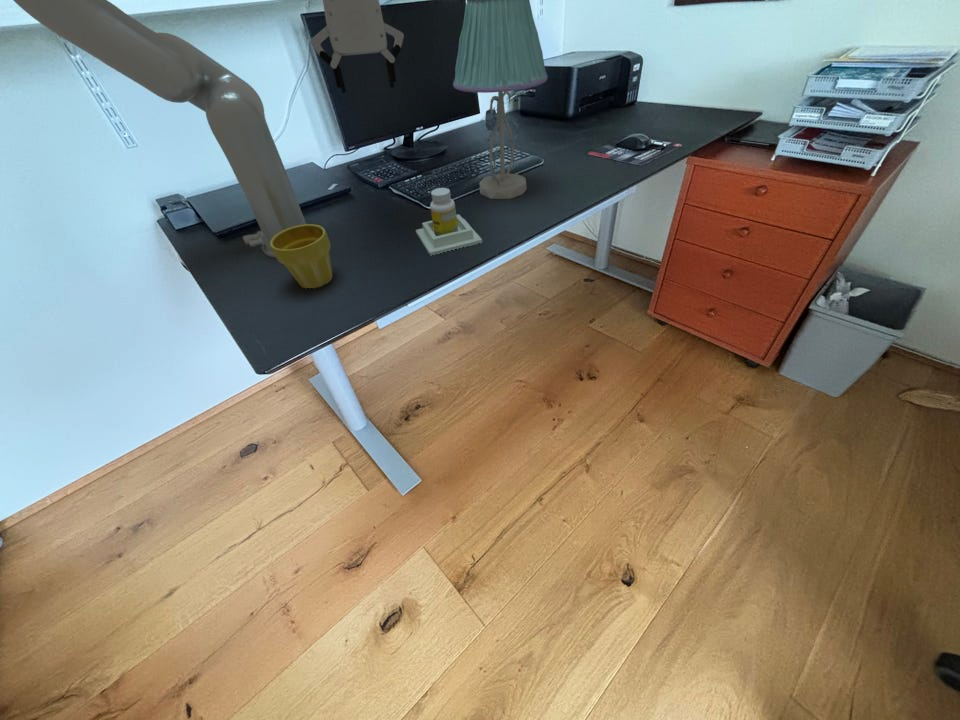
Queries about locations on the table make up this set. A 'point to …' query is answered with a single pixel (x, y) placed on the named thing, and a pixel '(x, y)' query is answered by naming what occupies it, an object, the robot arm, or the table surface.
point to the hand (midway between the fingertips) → (367, 89)
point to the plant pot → (304, 254)
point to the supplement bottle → (443, 212)
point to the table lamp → (499, 73)
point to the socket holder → (448, 237)
